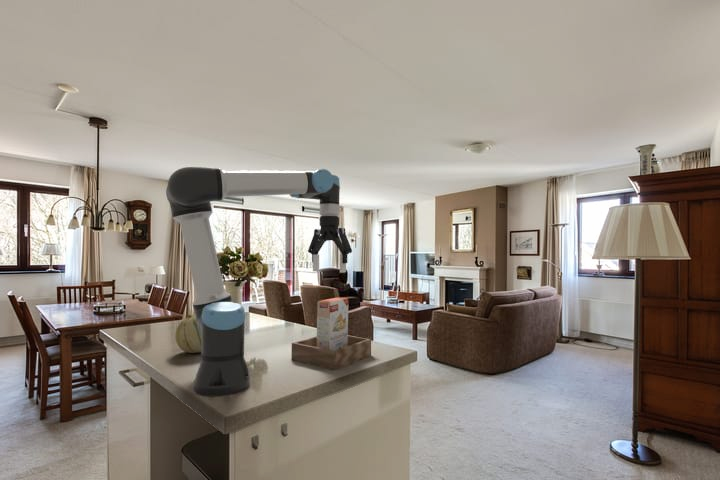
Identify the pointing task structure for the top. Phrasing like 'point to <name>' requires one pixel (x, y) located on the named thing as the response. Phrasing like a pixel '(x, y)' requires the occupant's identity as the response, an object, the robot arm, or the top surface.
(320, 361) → the box
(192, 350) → the cantaloupe
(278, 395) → the top surface
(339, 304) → the cracker box
